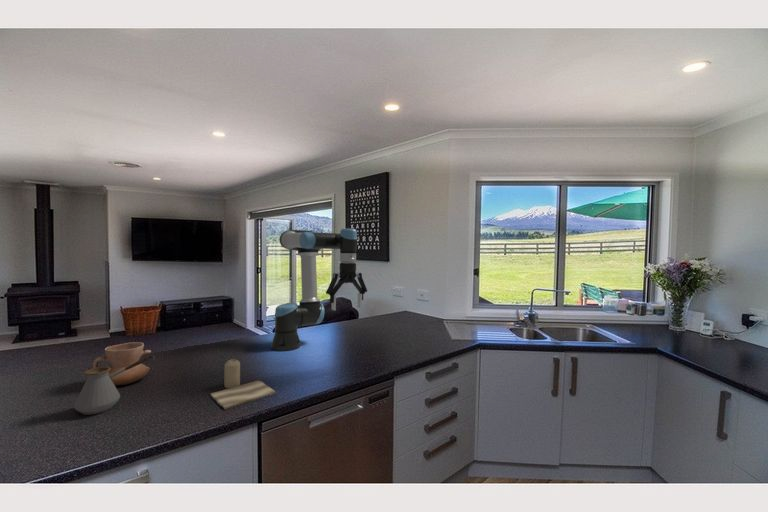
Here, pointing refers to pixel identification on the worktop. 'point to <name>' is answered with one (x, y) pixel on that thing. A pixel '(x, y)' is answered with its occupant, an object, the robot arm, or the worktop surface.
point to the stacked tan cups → (124, 362)
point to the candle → (232, 373)
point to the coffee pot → (100, 390)
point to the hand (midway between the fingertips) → (346, 308)
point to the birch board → (242, 394)
